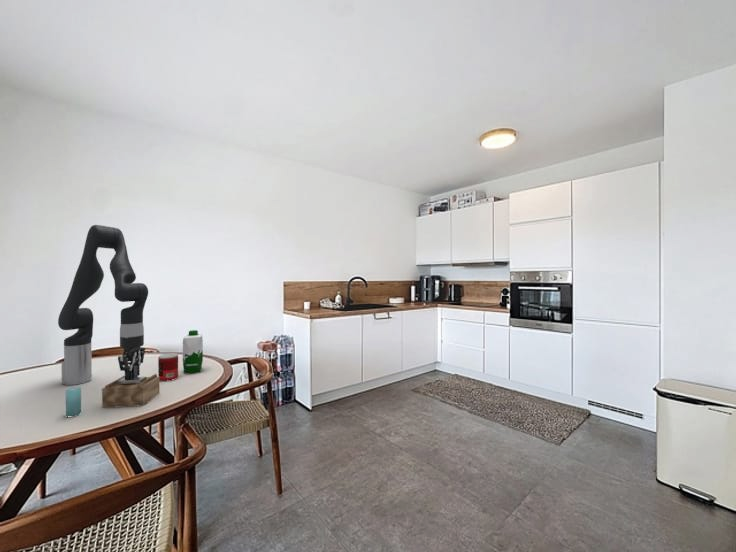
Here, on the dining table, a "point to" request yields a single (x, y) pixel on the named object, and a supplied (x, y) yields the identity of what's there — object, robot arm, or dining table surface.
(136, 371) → the latch bar
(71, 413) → the dowel
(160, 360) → the canned food
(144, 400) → the socket block
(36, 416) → the dining table surface
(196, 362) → the milk carton
